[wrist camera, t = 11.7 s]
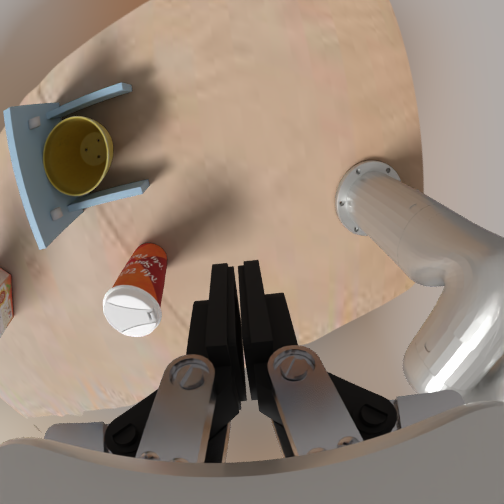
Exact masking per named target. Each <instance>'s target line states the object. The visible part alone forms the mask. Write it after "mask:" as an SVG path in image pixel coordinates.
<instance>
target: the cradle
mask: <svg viewBox="0 0 504 504" xmlns="http://www.w3.org/2000/svg"><path fill="white" fill-rule="evenodd" d="M129 92H132V87H131V85H130V84H126V83H122V82H121V83H118V84H115V85H112V86H109V87H106V88H104V89H101V90H98V91H96V92H93V93H90V94H88V95H85V96H83V97H80V98H78V99H76V100H73V101H71V102H69V103H66V104H64V105H62V106H59V103H44V104H32V105H22V106H15V107H9V108H8V109H6V110H5V111H4V120H5V128H6V134H7V140H8V146H9V151H10V156H11V161H12V165H13V170H14V174H15V178H16V182H17V185H18V189H19V192H20V196H21V199H22V202H23V206H24V209H25V212H26V215H27V218H28V221H29V223H30V226H31V229H32V232H33V234H34V237H35V239H36V242H37V245H38V247H39V249H44V248H47V246H48V245H49V244H50V243H51V242H52V241H53V240H54V239H55V238H56V237H57V236H58V235H59V234H60V233H61V232H62V231H63V230H64V229H65V228H67V227H68V226H69V225H70V224H71V223H72V222H73V221H74V220H75V219H76V218H77V217H78V216H79V215H80V214H82V213H83V208H87V207H91V206H94V205H98V204H102V203H106V202H110V201H114V200H118V199H122V198H127V197H131V196H135V195H140V194H143V193H144V192H145V190H146V189H147V188H148V187H149V181H148V179H146V180H142V181H138V182H133V183H129V184H125V185H121V186H117V187H113V188H109V189H106V190H102V191H98V192H95V193H91V194H88V195H84V196H81V197H79V196H69V195H66V194H63V193H61V192H60V191H58V190H57V189H56V188H55V187H54V186H53V185H52V184H51V183H50V181H49V179H48V178H47V175H46V173H45V170H44V165H43V150H44V145H45V142H46V139H47V137H48V135H49V133H50V132H51V130H52V129H53V128H54V127H55V126H56V125H57V124H58V123H59V122H61V121H62V120H61V117H64V116H66V115H68V114H70V113H73V112H75V111H78V110H80V109H83V108H85V107H88V106H90V105H93V104H96V103H98V102H101V101H104V100H107V99H110V98H113V97H116V96H119V95H122V94H125V93H129Z"/></svg>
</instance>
